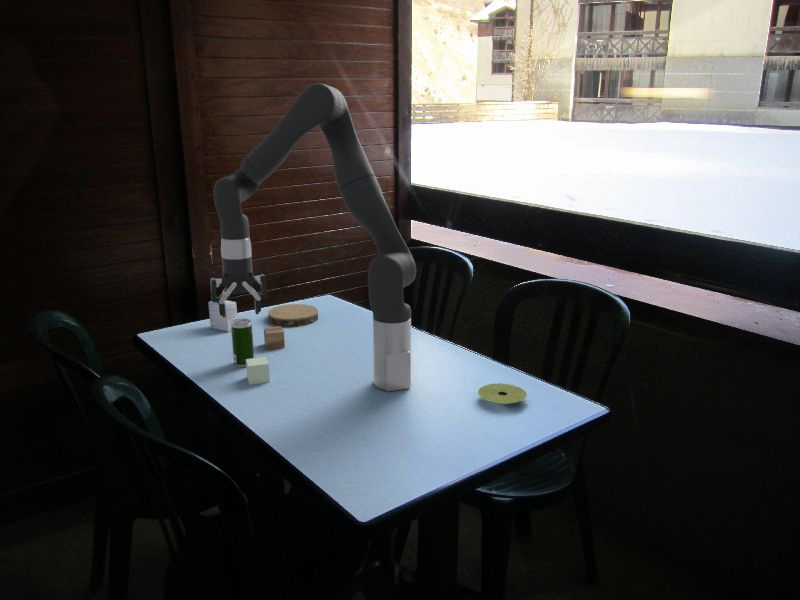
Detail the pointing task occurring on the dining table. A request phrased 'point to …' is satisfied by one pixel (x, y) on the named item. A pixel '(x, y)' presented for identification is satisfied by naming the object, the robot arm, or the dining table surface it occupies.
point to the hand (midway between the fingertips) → (240, 315)
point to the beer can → (242, 341)
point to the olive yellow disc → (502, 393)
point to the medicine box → (217, 319)
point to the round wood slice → (293, 315)
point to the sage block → (257, 370)
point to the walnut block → (274, 338)
